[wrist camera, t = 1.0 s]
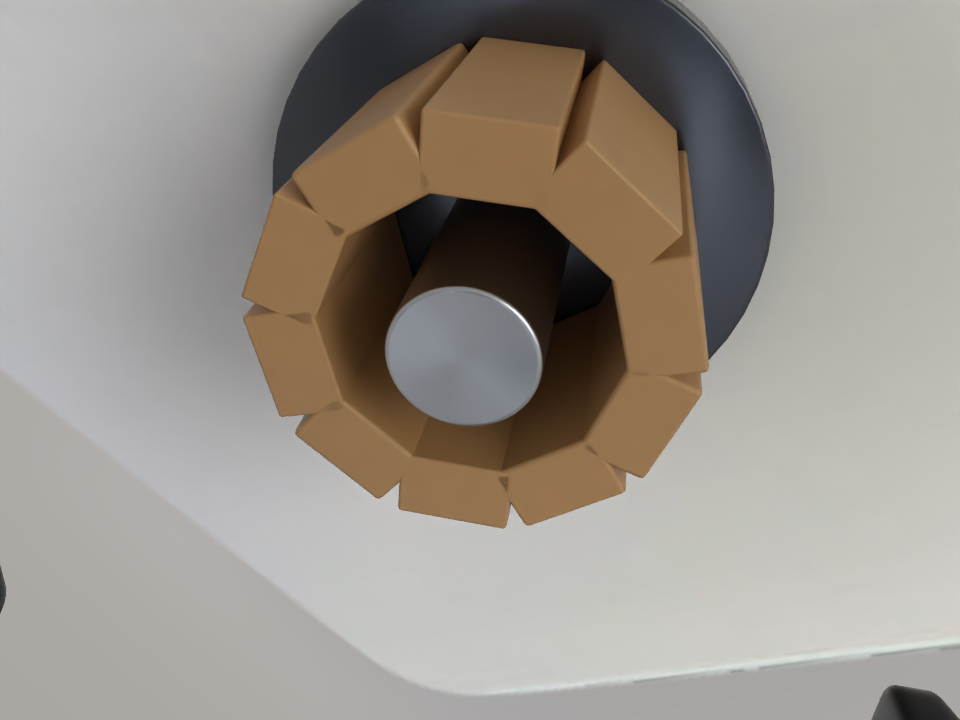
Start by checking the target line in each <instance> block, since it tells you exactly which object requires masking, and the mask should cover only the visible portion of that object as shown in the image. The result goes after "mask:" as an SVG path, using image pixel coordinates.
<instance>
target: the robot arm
mask: <svg viewBox="0 0 960 720" xmlns="http://www.w3.org/2000/svg"><path fill="white" fill-rule="evenodd" d="M5 597H6V586H5V582H4V578H3V574H2V571H1V567H0V613H1V610H2V608H3V605H4V602H5ZM872 720H960V719H959V718H958V717H957V716H956V715H955V714H954V712H953V711H952V710H951V709H950V708H949V707H948V705H947V704H946V703H945V702H944V701H943V700H942V699H941V698H940V697H939V696H938V695H936V694H935V693H933V692H931V691H927V690H921V689H916V688H909V687H904V686H898V685H893V686H889V687H888V688H887V689H885V691H884V692H883V694H882V696H881V698H880V701H879V703H878V705H877V708H876V710H875V712H874V715H873V717H872Z"/></svg>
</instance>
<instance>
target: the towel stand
mask: <svg viewBox="0 0 960 720" xmlns="http://www.w3.org/2000/svg"><path fill="white" fill-rule="evenodd" d="M483 37H488V38H496V39H503V40H511V41H519V42H527V43H534V44H542V45H550V46H557V47H565V48H573V49H580V50H584V51H585V60H584V67H583V74H582V81H583V80H584V79H585V78H586V77H587V76H588V75H589V74H590V73H591V72H592V71H593V70H594V69H595V68H596V67H597V66H598V65H599V64H600V63H601V62H602V61H603V60H604V61H606V62H607V63H609V64H610V65H611V66H612V67H613V68H614V69H615V70H616V71H617V72H618V73H619V74H620V75H621V76H622V77H623V78H624V79H625V80H626V81H627V82H628V83H629V84H630V85H631V86H632V87H633V88H634V89H635V90H636V91H637V92H638V93H639V94H640V95H641V96H642V97H643V98H644V99H645V100H646V101H647V102H648V103H649V104H650V105H651V106H652V107H653V108H654V109H655V110H656V111H657V112H658V113H659V114H660V115H661V116H662V117H663V118H664V119H665V120H666V121H667V122H668V123H669V124H670V125H671V126H672V127H673V128H674V129H675V130H676V132H677V147H678V151H681V150H682V151H685V152H686V154H687V161H688V169H689V178H690V186H691V195H692V203H693V211H694V220H695V228H696V237H697V246H698V257H699V267H700V277H701V288H702V298H703V309H704V319H705V330H706V340H707V350H708V360H709V359H710V358H711V357H712V356H713V354H714V353H715V352H716V351H717V350H718V349H719V348H720V346H721V345H722V344H723V343H724V342H725V341H726V340H727V338H728V337H729V336H730V334H731V333H732V331H733V330H734V328H735V327H736V325H737V324H738V322H739V321H740V319H741V318H742V316H743V315H744V313H745V311H746V309H747V307H748V305H749V303H750V301H751V299H752V297H753V295H754V293H755V291H756V288H757V286H758V284H759V281H760V278H761V275H762V272H763V269H764V266H765V262H766V259H767V256H768V252H769V246H770V240H771V234H772V228H773V221H774V183H773V174H772V166H771V158H770V153H769V149H768V146H767V142H766V138H765V135H764V131H763V127H762V123H761V120H760V118H759V115H758V112H757V109H756V107H755V105H754V102H753V100H752V98H751V95H750V93H749V91H748V88H747V86H746V84H745V82H744V79H743V78H742V76H741V74H740V73H739V71H738V69H737V68H736V66H735V65H734V63H733V61H732V60H731V58H730V56H729V55H728V53H727V52H726V50H725V49H724V47H723V46H722V45H721V44H720V43H719V41H718V40H717V39H716V38H715V37H714V35H713V34H712V33H711V32H710V31H709V29H708V28H707V27H706V26H705V25H704V23H703V22H702V21H701V20H699V19H698V18H697V17H696V16H695V15H694V14H693V13H692V12H691V11H689V10H688V9H687V8H686V7H685V6H684V5H683V4H682V3H681V2H680V1H678V0H362V1H361V2H359V3H358V4H357V5H356V6H355V7H354V8H352V9H351V10H350V11H349V12H348V13H347V14H345V15H344V16H343V17H342V18H341V19H340V20H339V21H338V22H337V23H336V24H335V25H334V26H333V28H332V29H331V30H330V31H329V32H328V33H327V34H326V36H325V37H324V38H323V39H322V40H321V41H320V42H319V44H318V45H317V46H316V48H315V49H314V51H313V52H312V54H311V56H310V57H309V59H308V60H307V62H306V63H305V65H304V67H303V68H302V70H301V71H300V73H299V75H298V77H297V79H296V82H295V84H294V86H293V88H292V90H291V93H290V95H289V97H288V99H287V101H286V105H285V108H284V111H283V115H282V118H281V122H280V125H279V129H278V132H277V139H276V145H275V152H274V159H273V196H274V194H275V193H276V192H277V191H278V190H279V189H280V188H281V187H282V186H283V185H284V184H285V183H286V182H287V181H289V180H290V179H291V178H292V174H293V173H294V171H295V170H296V169H297V168H298V167H299V166H300V165H301V164H302V163H303V162H304V161H305V160H306V159H308V158H309V157H310V156H311V155H312V154H313V153H314V152H315V151H316V150H317V149H318V148H319V147H320V146H321V145H322V144H323V143H325V142H326V141H327V140H328V139H329V138H330V137H331V136H332V135H333V134H334V133H335V132H336V131H337V130H338V129H339V128H340V127H341V126H343V125H344V124H345V123H346V122H347V121H348V120H349V119H350V118H351V117H352V116H353V115H354V114H355V113H356V112H357V111H358V110H360V109H361V108H362V107H363V106H364V105H365V104H366V103H367V102H368V101H369V100H370V99H371V98H372V97H373V96H374V95H375V94H376V93H378V92H379V91H380V90H381V89H382V88H384V87H385V86H387V85H389V84H391V83H392V82H394V81H396V80H397V79H399V78H401V77H402V76H404V75H406V74H407V73H409V72H411V71H412V70H414V69H416V68H417V67H419V66H421V65H422V64H424V63H426V62H427V61H429V60H431V59H432V58H434V57H436V56H437V55H439V54H441V53H442V52H444V51H446V50H447V49H449V48H451V47H452V46H454V45H456V44H459V43H461V44H463V45H464V46H465V48H466V50H467V51H468V53H469V52H470V51H471V50H472V49H473V48H474V47H475V45H476V44H477V43H478V42H479V41H480V39H481V38H483ZM582 81H581V83H582ZM395 215H396V218H397V222H398V225H399V229H400V233H401V236H402V240H403V243H404V247H405V251H406V254H407V258H408V261H409V265H410V269H411V272H412V276H414V277H415V278H414V279H413V281H412V283H411V285H410V287H409V289H408V291H407V292H406V294H405V296H404V298H403V300H402V302H401V304H400V305H399V307H398V309H397V311H396V313H395V315H394V316H393V318H392V320H391V322H390V325H389V327H388V330H387V334H386V338H385V357H386V362H387V366H388V369H389V372H390V375H391V377H392V379H393V381H394V383H395V385H396V386H397V388H398V389H399V391H400V392H401V393H402V394H403V396H404V397H405V398H406V399H407V400H408V401H409V402H410V403H411V404H412V405H413V406H415V407H416V408H418V409H419V410H420V411H422V412H423V413H425V414H427V415H429V416H430V417H433V418H435V419H437V420H440V421H443V422H446V423H449V424H454V425H459V426H483V425H489V424H493V423H497V422H499V421H502V420H504V419H507V418H508V417H510V416H512V415H514V414H515V413H517V412H518V411H519V410H521V409H522V408H523V407H524V406H525V405H526V404H527V403H528V402H529V401H530V400H531V398H532V397H533V396H534V394H535V392H536V391H537V389H538V387H539V384H540V381H541V379H542V374H543V369H544V365H545V360H546V355H547V350H548V346H549V341H550V336H551V331H552V327H553V325H554V324H556V323H558V322H560V321H563V320H565V319H567V318H569V317H572V316H574V315H576V314H579V313H581V312H583V311H585V310H588V309H590V308H592V307H595V306H597V305H599V303H600V302H601V300H602V298H603V296H604V295H605V293H606V291H607V290H608V288H609V286H610V284H611V283H612V279H611V278H610V277H609V276H607V275H606V274H605V273H604V272H603V271H602V270H601V269H600V268H599V267H598V266H597V265H595V264H594V263H593V262H592V261H591V260H590V259H589V258H588V257H587V256H586V255H585V254H584V253H582V252H581V251H580V250H579V249H578V248H577V247H576V246H575V245H574V244H573V243H572V242H570V241H569V240H568V239H567V238H566V237H565V236H564V235H563V234H562V233H561V232H560V231H558V230H557V229H556V228H555V227H554V226H553V225H552V224H551V223H550V222H549V221H548V220H547V219H545V218H544V217H543V216H542V215H541V214H540V213H539V212H538V211H537V210H536V209H532V208H525V207H519V206H512V205H505V204H498V203H492V202H485V201H478V200H471V199H464V198H458V197H451V196H444V195H437V194H431V193H429V194H428V195H426V196H424V197H422V198H420V199H418V200H416V201H414V202H413V203H411V204H409V205H407V206H405V207H403V208H401V209H399V210H397V211H396V212H395Z"/></svg>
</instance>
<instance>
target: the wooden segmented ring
mask: <svg viewBox="0 0 960 720" xmlns="http://www.w3.org/2000/svg"><path fill="white" fill-rule="evenodd" d="M584 60H585V51H584V50H580V49H573V48H565V47H557V46H550V45H542V44H534V43H527V42H519V41H511V40H503V39H496V38H488V37H483V38H481V39H480V41H479V42H478V43H477V44H476V45H475V47H474V48H473V49H472V50H471V51H470V52H469V53H468V51H467V50H466V48H465V46H464V45H463V44H461V43H459V44H456V45H454V46H452V47H451V48H449V49H447V50H446V51H444V52H442V53H441V54H439V55H437V56H436V57H434V58H432V59H431V60H429V61H427V62H426V63H424V64H422V65H421V66H419V67H417V68H416V69H414V70H412V71H411V72H409V73H407V74H406V75H404V76H402V77H401V78H399V79H397V80H396V81H394V82H392V83H391V84H389V85H387V86H385V87H384V88H382V89H381V90H380V91H379V92H378V93H376V94H375V95H374V96H373V97H372V98H371V99H370V100H369V101H368V102H367V103H366V104H365V105H364V106H363V107H362V108H361V109H360V110H358V111H357V112H356V113H355V114H354V115H353V116H352V117H351V118H350V119H349V120H348V121H347V122H346V123H345V124H344V125H343V126H341V127H340V128H339V129H338V130H337V131H336V132H335V133H334V134H333V135H332V136H331V137H330V138H329V139H328V140H327V141H326V142H325V143H323V144H322V145H321V146H320V147H319V148H318V149H317V150H316V151H315V152H314V153H313V154H312V155H311V156H310V157H309V158H308V159H306V160H305V161H304V162H303V163H302V164H301V165H300V166H299V167H298V168H297V169H296V170H295V171H294V173H293V174H292V178H291V179H290V180H289V181H287V182H286V183H285V184H284V185H283V186H282V187H281V188H280V189H279V190H278V191H277V192H276V193H275V194H274V196H273V199H272V202H271V205H270V208H269V211H268V215H267V218H266V221H265V224H264V227H263V230H262V233H261V237H260V240H259V243H258V246H257V249H256V252H255V255H254V258H253V262H252V265H251V268H250V271H249V274H248V277H247V280H246V283H245V287H244V290H243V293H242V297H243V298H245V299H247V300H250V301H252V302H254V303H255V304H254V305H253V306H252V308H251V309H250V310H249V311H248V312H247V314H246V315H245V316H244V317H243V320H244V323H245V325H246V328H247V331H248V333H249V336H250V339H251V341H252V344H253V346H254V349H255V352H256V354H257V357H258V360H259V362H260V365H261V368H262V370H263V373H264V375H265V378H266V381H267V383H268V386H269V389H270V391H271V394H272V396H273V399H274V402H275V404H276V407H277V410H278V412H279V415H280V416H281V417H286V416H296V415H304V417H303V419H302V420H301V422H300V424H299V425H298V427H297V429H296V433H295V434H296V435H297V436H298V437H299V438H300V439H302V440H303V441H304V442H305V443H307V444H308V445H309V446H311V447H312V448H313V449H314V450H316V451H317V452H318V453H319V454H321V455H322V456H323V457H325V458H326V459H327V460H328V461H330V462H331V463H332V464H334V465H335V466H336V467H337V468H339V469H340V470H341V471H343V472H344V473H345V474H346V475H348V476H349V477H350V478H351V479H353V480H354V481H355V482H357V483H358V484H359V485H360V486H362V487H363V488H364V489H366V490H367V491H368V492H369V493H371V494H372V495H373V496H374V497H376V498H378V499H379V498H381V497H383V496H384V495H385V494H386V493H387V492H389V491H390V490H391V489H392V488H393V487H394V486H395V485H397V484H398V483H399V482H400V485H399V502H398V507H399V509H400V510H404V511H410V512H415V513H421V514H426V515H432V516H437V517H443V518H448V519H454V520H459V521H465V522H470V523H476V524H481V525H487V526H492V527H498V528H505V527H506V525H507V520H508V516H509V511H510V506H511V504H512V506H513V507H514V509H515V510H516V512H517V513H518V515H519V516H520V518H521V519H522V520H523V522H524V523H525V524H526V525H532V524H535V523H538V522H541V521H544V520H547V519H549V518H552V517H555V516H558V515H561V514H564V513H567V512H570V511H572V510H575V509H578V508H581V507H584V506H587V505H590V504H592V503H595V502H598V501H601V500H604V499H607V498H610V497H613V496H615V495H618V494H621V493H623V492H624V491H625V487H626V472H628V473H630V474H633V475H635V476H637V477H639V478H643V477H644V476H645V475H646V474H647V473H648V471H649V470H650V468H651V467H652V466H653V464H654V463H655V461H656V460H657V458H658V457H659V455H660V454H661V453H662V451H663V450H664V448H665V447H666V445H667V444H668V442H669V441H670V440H671V438H672V437H673V435H674V434H675V432H676V431H677V430H678V428H679V427H680V425H681V424H682V422H683V421H684V419H685V418H686V417H687V415H688V414H689V412H690V411H691V409H692V408H693V406H694V405H695V404H696V402H697V401H698V399H699V398H700V396H701V394H702V387H701V374H700V373H702V372H706V371H707V370H708V368H709V361H708V350H707V340H706V330H705V319H704V309H703V298H702V288H701V277H700V267H699V257H698V246H697V237H696V228H695V220H694V211H693V203H692V195H691V186H690V178H689V169H688V161H687V154H686V152H685V151H682V150H681V151H678V147H677V132H676V130H675V129H674V128H673V127H672V126H671V125H670V124H669V123H668V122H667V121H666V120H665V119H664V118H663V117H662V116H661V115H660V114H659V113H658V112H657V111H656V110H655V109H654V108H653V107H652V106H651V105H650V104H649V103H648V102H647V101H646V100H645V99H644V98H643V97H642V96H641V95H640V94H639V93H638V92H637V91H636V90H635V89H634V88H633V87H632V86H631V85H630V84H629V83H628V82H627V81H626V80H625V79H624V78H623V77H622V76H621V75H620V74H619V73H618V72H617V71H616V70H615V69H614V68H613V67H612V66H611V65H610V64H609V63H607V62H606V61H604V60H603V61H602V62H601V63H600V64H599V65H598V66H597V67H596V68H595V69H594V70H593V71H592V72H591V73H590V74H589V75H588V76H587V77H586V78H585V79H584V80H583V81H582V74H583V67H584ZM581 81H582V83H581ZM429 193H431V194H437V195H444V196H451V197H458V198H464V199H471V200H478V201H485V202H492V203H498V204H505V205H512V206H519V207H525V208H532V209H536V210H537V211H538V212H539V213H540V214H541V215H542V216H543V217H544V218H545V219H547V220H548V221H549V222H550V223H551V224H552V225H553V226H554V227H555V228H556V229H557V230H558V231H560V232H561V233H562V234H563V235H564V236H565V237H566V238H567V239H568V240H569V241H570V242H572V243H573V244H574V245H575V246H576V247H577V248H578V249H579V250H580V251H581V252H582V253H584V254H585V255H586V256H587V257H588V258H589V259H590V260H591V261H592V262H593V263H594V264H595V265H597V266H598V267H599V268H600V269H601V270H602V271H603V272H604V273H605V274H606V275H607V276H609V277H610V278H611V279H612V283H611V284H610V286H609V288H608V290H607V291H606V293H605V295H604V296H603V298H602V300H601V302H600V303H599V305H597V306H595V307H592V308H590V309H588V310H585V311H583V312H581V313H579V314H576V315H574V316H572V317H569V318H567V319H565V320H563V321H560V322H558V323H556V324H554V325H553V327H552V331H551V336H550V341H549V346H548V350H547V355H546V360H545V365H544V369H543V374H542V379H541V381H540V384H539V387H538V389H537V391H536V392H535V394H534V396H533V397H532V398H531V400H530V401H529V402H528V403H527V404H526V405H525V406H524V407H523V408H522V409H521V410H519V411H518V412H517V413H515V414H514V415H512V416H510V417H508V418H507V419H504V420H502V421H499V422H497V423H493V424H489V425H483V426H459V425H454V424H449V423H446V422H443V421H440V420H437V419H435V418H433V417H430V416H429V415H427V414H425V413H423V412H422V411H420V410H419V409H418V408H416V407H415V406H413V405H412V404H411V403H410V402H409V401H408V400H407V399H406V398H405V397H404V396H403V394H402V393H401V392H400V391H399V389H398V388H397V386H396V385H395V383H394V381H393V379H392V377H391V375H390V372H389V369H388V366H387V362H386V357H385V338H386V334H387V330H388V327H389V325H390V322H391V320H392V318H393V316H394V315H395V313H396V311H397V309H398V307H399V305H400V304H401V302H402V300H403V298H404V296H405V294H406V292H407V291H408V289H409V287H410V285H411V283H412V281H413V279H414V278H415V277H414V276H412V272H411V269H410V265H409V261H408V258H407V254H406V251H405V247H404V243H403V240H402V236H401V233H400V229H399V225H398V222H397V218H396V215H395V212H396V211H397V210H399V209H401V208H403V207H405V206H407V205H409V204H411V203H413V202H414V201H416V200H418V199H420V198H422V197H424V196H426V195H428V194H429Z"/></svg>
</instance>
